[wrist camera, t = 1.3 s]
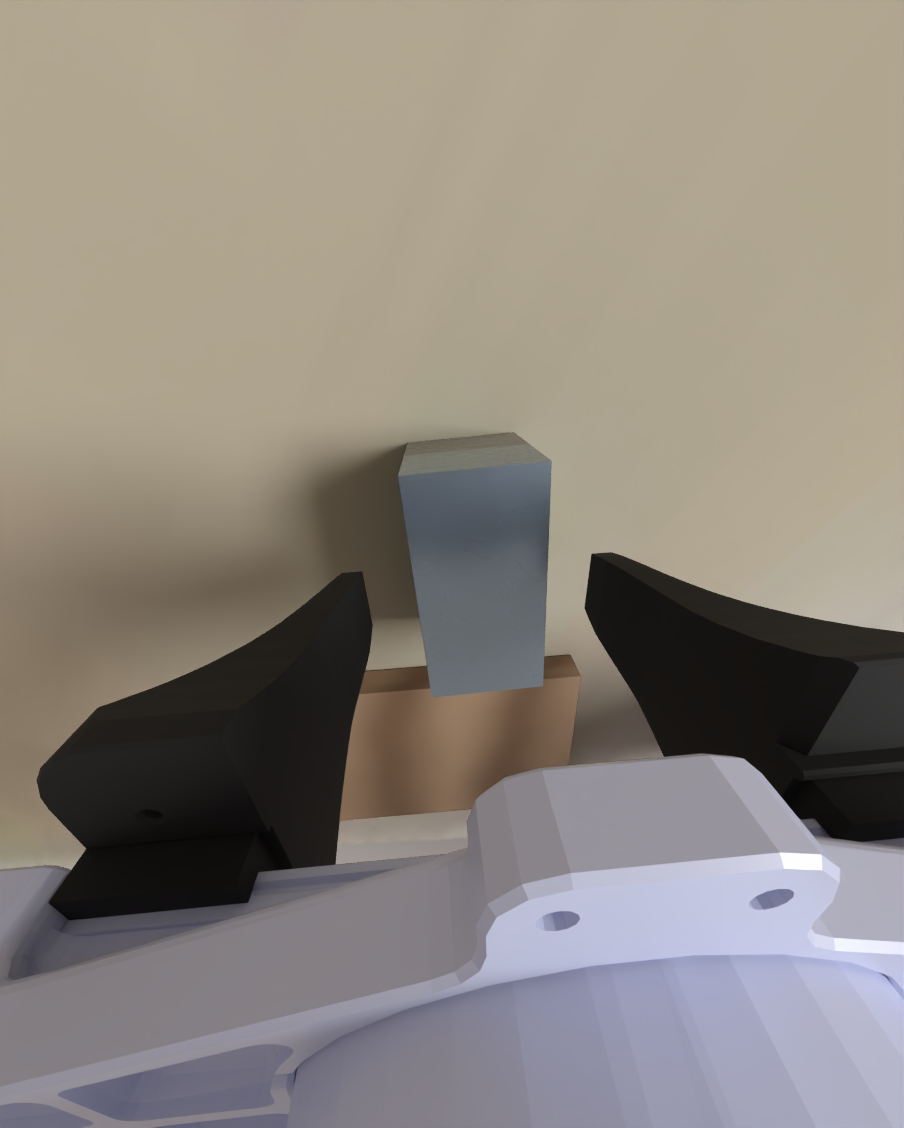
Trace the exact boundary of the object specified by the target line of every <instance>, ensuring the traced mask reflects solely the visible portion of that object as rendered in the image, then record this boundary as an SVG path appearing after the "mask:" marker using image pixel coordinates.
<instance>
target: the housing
mask: <svg viewBox="0 0 904 1128" xmlns="http://www.w3.org/2000/svg"><path fill="white" fill-rule="evenodd" d="M551 462H552V461H551V460H550V459H548V458H547V457H546V456H544V455H543V454H542V453H541V452H539V451H538V450H537V449H535V448H534V447H533V446H531V445H530V444H529V443H527V442H526V441H525V440H523V439H522V438H521V437H519V436H518V435H517V434H516V433H514V432H513V433H503V434H492V435H482V436H472V437H462V438H452V439H441V440H431V441H421V442H411V443H407V447H406V450H405V453H404V457H403V460H402V464H401V467H400V470H399V474H398V480H399V487H400V493H401V500H402V506H403V513H404V519H405V526H406V532H407V539H408V546H409V552H410V559H411V565H412V572H413V578H414V585H415V591H416V598H417V604H418V611H419V617H420V624H421V630H422V637H423V643H424V650H425V656H426V663H427V669H428V676H429V682H430V689H431V695H432V698H434V697H444V696H454V695H464V694H473V693H483V692H493V691H502V690H512V689H522V688H531V687H541V686H543V675H544V648H545V622H546V595H547V569H548V542H549V516H550V489H551Z"/></svg>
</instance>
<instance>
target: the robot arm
mask: <svg viewBox="0 0 904 1128" xmlns="http://www.w3.org/2000/svg"><path fill="white" fill-rule="evenodd" d="M585 610H586V613H587V615H588V618H589V620H590V622H591V625H592V627H593V629H594V631H595V633H596V635H597V637H598V638H599V640H600V642H601V643H602V645H603V647H604V648H605V650H606V651H607V653H608V655H609V656H610V658H611V659H612V661H613V662H614V664H615V666H616V667H617V669H618V670H619V672H620V673H621V675H622V677H623V678H624V680H625V681H626V683H627V684H628V686H629V688H630V689H631V691H632V693H633V694H634V696H635V698H636V700H637V701H638V703H639V705H640V707H641V709H642V711H643V713H644V715H645V717H646V719H647V721H648V723H649V725H650V727H651V729H652V731H653V734H654V736H655V738H656V740H657V742H658V745H659V747H660V749H661V751H662V753H663V756H664V757H658V758H647V759H636V760H625V761H614V762H603V763H592V764H581V765H570V766H559V767H549V768H539V769H535V770H531V771H527V772H523V773H519V774H515V775H512V776H508V777H505V778H503V779H502V780H501V781H499V782H498V783H496V784H495V785H493V786H492V787H491V788H489V789H488V790H486V791H485V792H484V793H482V794H481V795H480V796H479V797H478V798H477V799H476V800H475V803H474V805H473V808H472V810H471V813H470V816H469V818H468V821H467V831H468V848H465V849H462V850H458V851H454V852H451V853H448V854H440V855H430V856H420V857H410V858H399V859H389V860H378V861H368V862H358V863H347V864H337V865H335V863H336V851H337V840H338V831H339V821H340V812H341V802H342V793H343V785H344V777H345V769H346V761H347V754H348V747H349V740H350V733H351V727H352V722H353V717H354V712H355V709H356V705H357V701H358V697H359V693H360V689H361V685H362V681H363V677H364V673H365V669H366V665H367V661H368V657H369V653H370V645H371V635H372V620H371V615H370V610H369V604H368V599H367V594H366V589H365V583H364V578H363V573H362V572H350V573H342V574H340V575H339V576H338V577H336V578H335V579H334V580H333V581H332V582H330V583H329V584H328V585H327V586H326V587H325V588H323V589H322V590H321V591H320V592H319V593H318V594H316V595H315V596H314V597H313V598H312V599H310V600H309V601H308V602H307V603H306V604H304V605H303V606H302V607H300V608H299V609H298V610H296V611H295V612H294V613H292V614H291V615H290V616H289V617H287V618H286V619H285V620H283V621H282V622H281V623H279V624H278V625H276V626H275V627H273V628H272V629H270V630H269V631H267V632H266V633H264V634H262V635H261V636H259V637H258V638H256V639H254V640H253V641H251V642H249V643H248V644H246V645H244V646H242V647H240V648H239V649H237V650H235V651H233V652H231V653H229V654H227V655H225V656H223V657H221V658H220V659H218V660H216V661H214V662H212V663H210V664H208V665H206V666H203V667H201V668H199V669H197V670H195V671H193V672H190V673H188V674H186V675H183V676H181V677H179V678H176V679H174V680H172V681H169V682H167V683H164V684H162V685H159V686H157V687H154V688H152V689H149V690H146V691H143V692H140V693H138V694H135V695H132V696H129V697H127V698H124V699H121V700H118V701H116V702H113V703H110V704H107V705H104V706H101V707H98V708H97V709H96V710H95V711H94V712H93V713H92V714H91V715H90V716H89V718H88V719H87V720H86V721H85V722H84V723H83V724H82V725H81V726H80V727H79V728H78V729H77V730H76V731H75V732H74V733H73V734H72V735H71V736H70V737H69V739H68V740H67V741H66V742H65V743H64V744H63V745H62V746H61V747H60V748H59V749H58V750H57V751H56V752H55V753H54V754H53V755H52V756H51V757H50V758H49V760H48V761H47V762H46V763H45V764H44V765H43V766H42V767H41V768H40V771H39V775H38V778H37V784H38V788H39V793H40V797H41V799H42V800H43V802H44V803H45V805H46V806H47V807H48V809H49V810H50V811H51V812H52V813H53V814H54V815H55V816H56V817H57V818H58V819H59V821H60V822H61V823H62V824H63V825H64V826H65V827H66V828H67V829H68V830H69V831H70V832H71V833H72V834H73V835H74V836H75V837H76V838H77V839H78V840H79V841H80V842H81V843H82V844H83V846H84V847H85V848H87V849H86V850H85V852H84V853H83V854H82V856H81V857H80V859H79V860H78V862H77V863H76V864H75V866H74V867H73V869H72V870H69V869H67V868H64V867H60V866H51V865H44V866H33V867H23V868H12V869H2V870H0V1128H904V632H896V631H889V630H881V629H873V628H865V627H859V626H853V625H847V624H841V623H835V622H830V621H824V620H819V619H814V618H809V617H804V616H799V615H794V614H790V613H786V612H781V611H777V610H773V609H769V608H765V607H761V606H757V605H753V604H750V603H746V602H743V601H739V600H736V599H733V598H730V597H726V596H723V595H720V594H717V593H714V592H711V591H708V590H705V589H703V588H700V587H697V586H695V585H692V584H689V583H686V582H684V581H681V580H679V579H676V578H674V577H672V576H669V575H667V574H664V573H662V572H660V571H657V570H655V569H653V568H650V567H648V566H646V565H643V564H641V563H639V562H636V561H634V560H631V559H629V558H626V557H624V556H621V555H618V554H615V553H611V552H610V553H597V554H592V555H591V563H590V571H589V578H588V586H587V594H586V601H585Z"/></svg>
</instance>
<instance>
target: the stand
mask: <svg viewBox="0 0 904 1128" xmlns="http://www.w3.org/2000/svg"><path fill="white" fill-rule="evenodd" d="M580 680H581V675H580V673H579V671H578V669H577V667H576V665H575V663H574V661H573V659H572V657H571V655H563V656H550V657H544V675H543V686H541V687H531V688H522V689H512V690H502V691H493V692H483V693H473V694H464V695H454V696H444V697H434V698H432V695H431V689H430V682H429V676H428V669H427V666H426V667H413V668H401V669H389V670H376V671H365V673H364V677H363V681H362V685H361V689H360V693H359V697H358V701H357V705H356V709H355V712H354V717H353V722H352V727H351V733H350V740H349V747H348V754H347V761H346V769H345V777H344V785H343V793H342V802H341V812H340V821H342V820H353V819H364V818H376V817H387V816H398V815H409V814H421V813H432V812H443V811H454V810H466V809H472V808H473V805H474V803H475V800H476V799H477V798H478V797H479V796H480V795H481V794H482V793H484V792H485V791H486V790H488V789H489V788H491V787H492V786H493V785H495V784H496V783H498V782H499V781H501V780H502V779H503V778H505V777H508V776H512V775H515V774H519V773H523V772H527V771H531V770H535V769H539V768H549V767H559V766H569V759H570V752H571V745H572V738H573V730H574V723H575V716H576V709H577V701H578V694H579V687H580Z"/></svg>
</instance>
